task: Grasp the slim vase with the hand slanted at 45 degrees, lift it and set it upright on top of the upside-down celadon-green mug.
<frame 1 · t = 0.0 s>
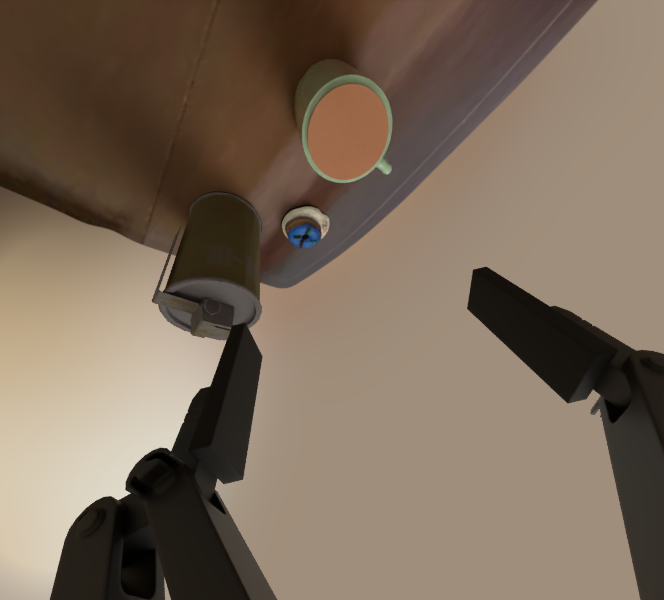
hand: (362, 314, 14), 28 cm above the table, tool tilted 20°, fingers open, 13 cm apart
canister: (225, 222, 38), on the table
mug: (331, 110, 29), on the table
dessert: (305, 225, 41), on the table
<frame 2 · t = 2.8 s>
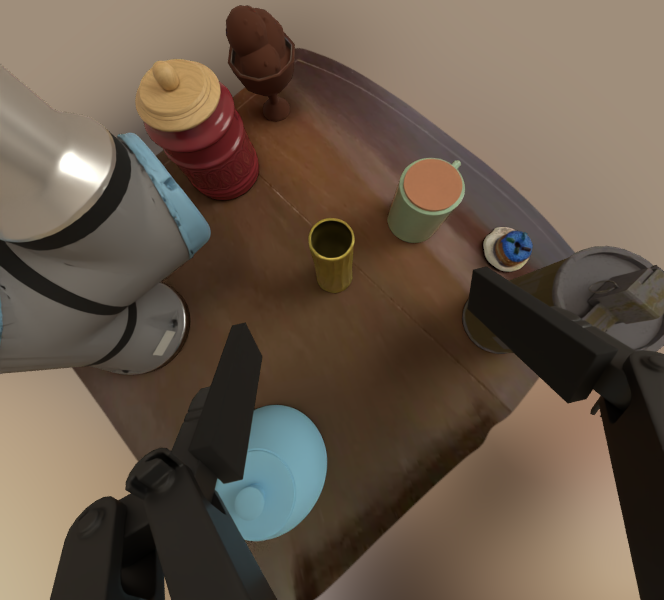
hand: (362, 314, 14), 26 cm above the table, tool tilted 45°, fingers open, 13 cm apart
canister: (493, 321, 39), on the table
mug: (412, 219, 43), on the table
sugar bowl: (277, 454, 36), on the table
ice cream bowl: (276, 110, 48), on the table
vase: (334, 276, 41), on the table
dessert: (503, 250, 41), on the table
kitchen canister: (227, 172, 46), on the table
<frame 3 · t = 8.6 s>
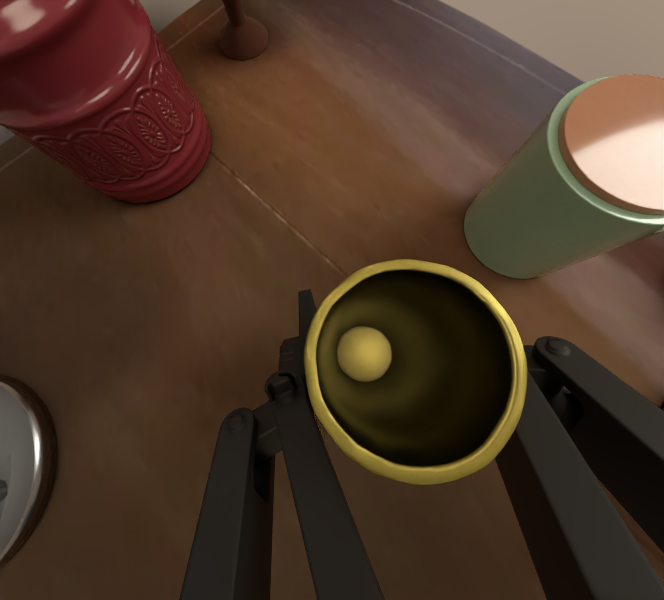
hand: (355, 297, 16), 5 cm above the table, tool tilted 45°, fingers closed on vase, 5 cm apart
mug: (516, 229, 21), on the table
ice cream bowl: (245, 43, 27), on the table
vase: (362, 353, 20), on the table, touching gripper
kitchen canister: (153, 151, 25), on the table
when the fingers open (14 cm above the table, at t = 16.1 s): vase stays where it is, resting on mug.
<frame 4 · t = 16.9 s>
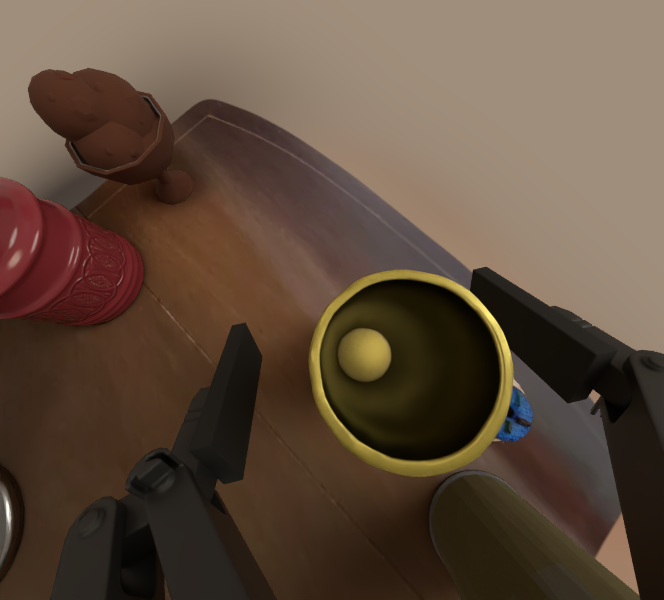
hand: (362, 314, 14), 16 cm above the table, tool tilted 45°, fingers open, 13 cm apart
canister: (476, 525, 25), on the table
ice cream bowl: (175, 188, 35), on the table
vase: (363, 354, 20), point 9 cm above the table, touching mug
dessert: (490, 402, 28), on the table
kitchen canister: (101, 279, 33), on the table
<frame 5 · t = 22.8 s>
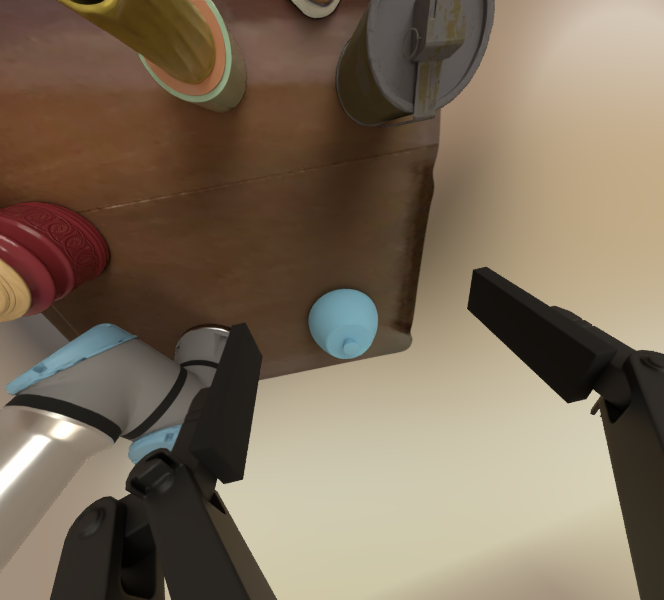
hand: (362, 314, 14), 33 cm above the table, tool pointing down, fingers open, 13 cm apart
canister: (372, 83, 34), on the table
mug: (209, 68, 31), on the table
sugar bowl: (341, 313, 55), on the table
vase: (182, 42, 23), point 9 cm above the table, touching mug
kitchen canister: (65, 241, 40), on the table
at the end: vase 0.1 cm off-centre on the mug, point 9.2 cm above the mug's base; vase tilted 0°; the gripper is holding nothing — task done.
